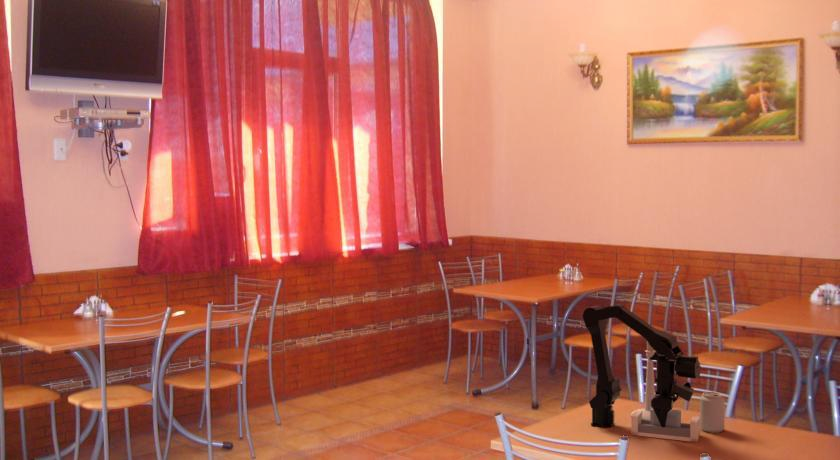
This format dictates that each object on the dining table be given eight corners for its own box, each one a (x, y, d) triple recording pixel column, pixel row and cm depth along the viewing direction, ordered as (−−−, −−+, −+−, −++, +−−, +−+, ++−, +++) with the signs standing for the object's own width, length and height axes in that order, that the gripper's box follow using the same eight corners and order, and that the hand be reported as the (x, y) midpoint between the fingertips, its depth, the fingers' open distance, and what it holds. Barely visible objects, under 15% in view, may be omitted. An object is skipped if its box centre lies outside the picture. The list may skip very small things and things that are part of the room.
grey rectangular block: (650, 431, 265) (650, 409, 265) (651, 428, 268) (651, 407, 267) (679, 434, 261) (679, 412, 261) (681, 432, 264) (681, 410, 264)
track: (631, 434, 265) (631, 416, 265) (636, 428, 272) (636, 409, 272) (697, 442, 257) (697, 422, 256) (700, 434, 264) (700, 416, 264)
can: (726, 434, 265) (726, 396, 264) (701, 433, 266) (701, 395, 265) (722, 427, 272) (722, 391, 271) (698, 426, 273) (698, 390, 273)
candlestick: (636, 422, 279) (636, 333, 277) (626, 412, 291) (626, 327, 290) (674, 422, 279) (674, 333, 277) (662, 411, 292) (663, 326, 290)
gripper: (688, 383, 252) (688, 434, 252) (695, 370, 269) (695, 418, 269) (650, 380, 256) (650, 430, 257) (660, 368, 273) (660, 414, 274)
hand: (665, 423), depth 264 cm, fingers open, 9 cm apart
